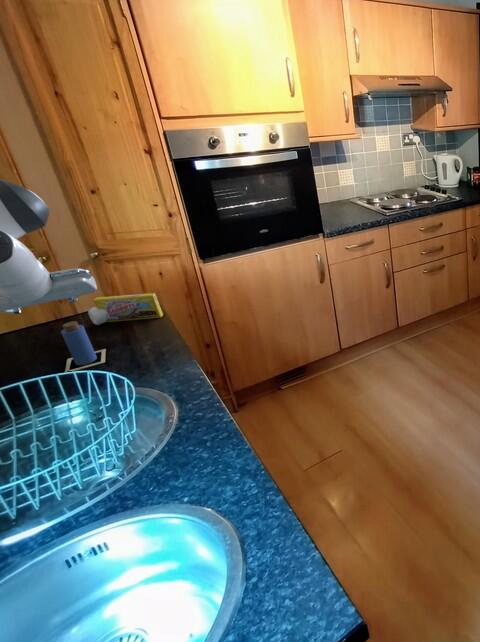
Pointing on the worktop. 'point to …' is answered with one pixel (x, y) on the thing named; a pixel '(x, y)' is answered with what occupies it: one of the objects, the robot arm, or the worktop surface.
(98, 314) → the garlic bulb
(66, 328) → the blue bottle
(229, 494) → the worktop surface
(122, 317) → the candy box
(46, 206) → the robot arm
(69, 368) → the spot outline
